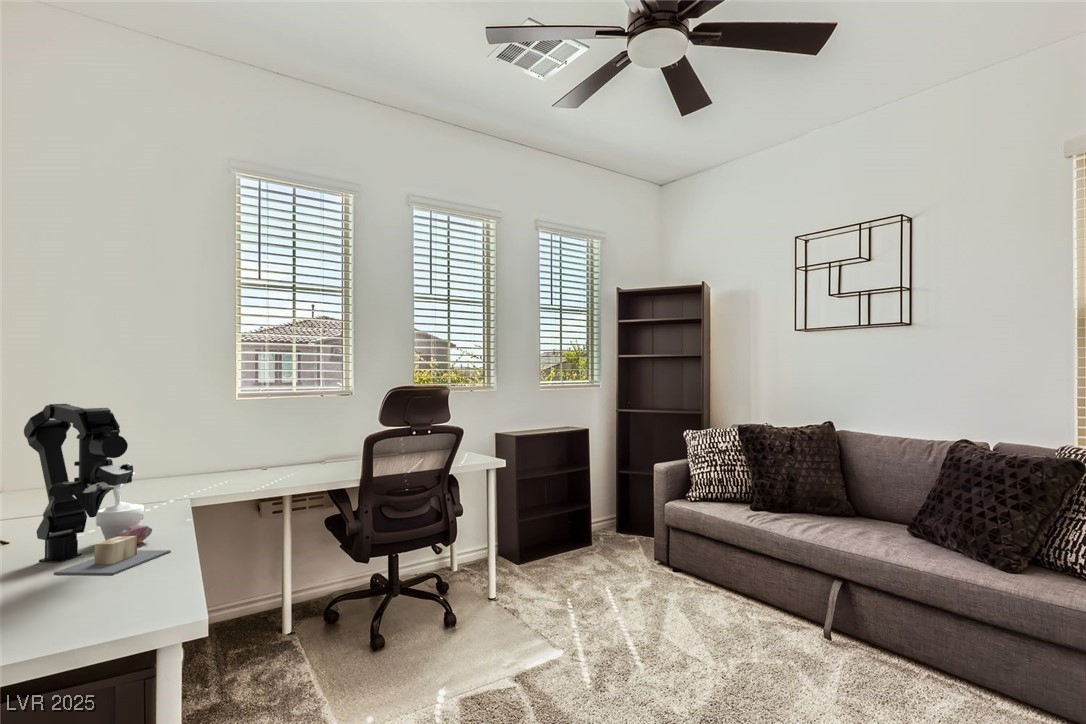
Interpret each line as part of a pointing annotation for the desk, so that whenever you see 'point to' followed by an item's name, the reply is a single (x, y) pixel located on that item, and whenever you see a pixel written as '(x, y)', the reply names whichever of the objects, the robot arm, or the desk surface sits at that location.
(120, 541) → the tall block
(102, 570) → the rubber mat
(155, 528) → the desk surface
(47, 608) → the desk surface
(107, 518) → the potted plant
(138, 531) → the video game controller
